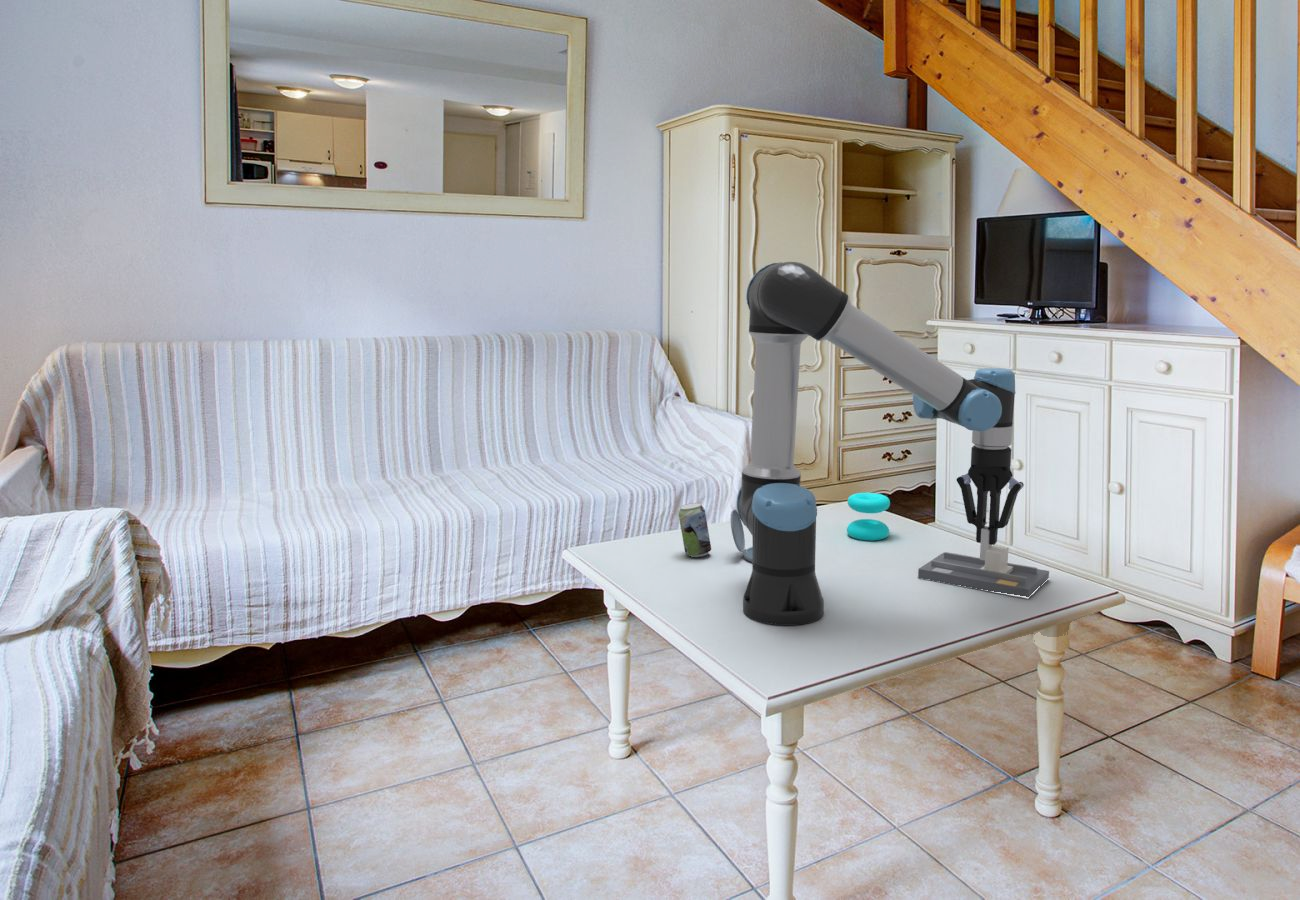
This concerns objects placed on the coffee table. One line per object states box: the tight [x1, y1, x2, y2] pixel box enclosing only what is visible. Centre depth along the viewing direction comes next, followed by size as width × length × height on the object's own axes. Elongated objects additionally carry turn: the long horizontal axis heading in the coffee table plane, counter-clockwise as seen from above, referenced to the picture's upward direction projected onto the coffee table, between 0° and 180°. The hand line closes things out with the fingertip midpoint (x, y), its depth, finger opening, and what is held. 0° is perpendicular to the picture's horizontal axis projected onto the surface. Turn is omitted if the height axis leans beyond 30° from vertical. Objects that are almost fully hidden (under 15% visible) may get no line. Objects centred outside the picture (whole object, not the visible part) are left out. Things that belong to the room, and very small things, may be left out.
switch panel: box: [917, 551, 1050, 597], centre depth 185 cm, size 14×22×3 cm, turn 51°
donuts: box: [846, 492, 891, 542], centre depth 217 cm, size 10×10×10 cm
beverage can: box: [678, 502, 712, 558], centre depth 204 cm, size 6×7×12 cm
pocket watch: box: [730, 509, 753, 563], centre depth 201 cm, size 10×11×15 cm
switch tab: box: [980, 544, 1013, 574], centre depth 183 cm, size 6×5×5 cm
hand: (985, 558), depth 185 cm, fingers closed
